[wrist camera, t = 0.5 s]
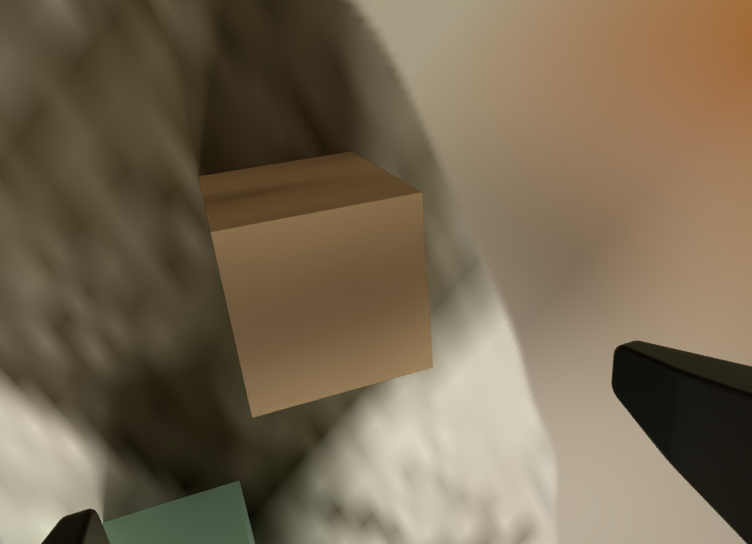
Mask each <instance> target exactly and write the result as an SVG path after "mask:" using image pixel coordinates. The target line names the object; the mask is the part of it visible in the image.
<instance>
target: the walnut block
mask: <svg viewBox="0 0 752 544" xmlns="http://www.w3.org/2000/svg"><path fill="white" fill-rule="evenodd" d="M198 177H199V182H200V186H201V191H202V196H203V200H204V205H205V209H206V214H207V218H208V223H209V227H210V232H211V236H212V241H213V245H214V250H215V254H216V259H217V263H218V267H219V272H220V276H221V281H222V285H223V290H224V294H225V299H226V303H227V308H228V312H229V316H230V321H231V325H232V330H233V334H234V339H235V343H236V348H237V352H238V357H239V361H240V365H241V370H242V374H243V379H244V383H245V388H246V392H247V397H248V401H249V406H250V410H251V414H252V418H253V417H257V416H260V415H264V414H268V413H271V412H275V411H278V410H282V409H285V408H289V407H293V406H296V405H300V404H303V403H307V402H310V401H314V400H318V399H321V398H325V397H328V396H332V395H336V394H339V393H343V392H346V391H350V390H353V389H357V388H361V387H364V386H368V385H371V384H375V383H379V382H382V381H386V380H389V379H393V378H396V377H400V376H404V375H407V374H411V373H414V372H418V371H421V370H425V369H429V368H432V367H433V361H432V344H431V328H430V311H429V295H428V279H427V262H426V246H425V230H424V213H423V197H422V192H421V191H419V190H417V189H416V188H414V187H412V186H410V185H409V184H407V183H405V182H404V181H402V180H400V179H398V178H397V177H395V176H393V175H391V174H390V173H388V172H386V171H385V170H383V169H381V168H379V167H378V166H376V165H374V164H372V163H371V162H369V161H367V160H366V159H364V158H362V157H360V156H359V155H357V154H355V153H353V152H345V153H339V154H333V155H327V156H321V157H315V158H308V159H302V160H296V161H290V162H284V163H278V164H271V165H265V166H259V167H253V168H247V169H241V170H234V171H228V172H222V173H216V174H210V175H203V176H198Z"/></svg>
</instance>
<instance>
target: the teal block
mask: <svg viewBox="0 0 752 544" xmlns="http://www.w3.org/2000/svg"><path fill="white" fill-rule="evenodd" d="M103 527H104V530H105V532H106V535H107V537H108V539H109V542H110V544H255V541H254V537H253V533H252V529H251V525H250V521H249V517H248V513H247V509H246V505H245V501H244V497H243V493H242V489H241V485H240V481H236V482H233V483H229V484H226V485H223V486H220V487H216V488H213V489H210V490H207V491H203V492H200V493H197V494H193V495H190V496H187V497H184V498H180V499H177V500H174V501H171V502H167V503H164V504H161V505H158V506H154V507H151V508H148V509H145V510H141V511H138V512H135V513H131V514H128V515H125V516H122V517H118V518H115V519H112V520H109V521H105V522H103Z"/></svg>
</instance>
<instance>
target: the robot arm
mask: <svg viewBox="0 0 752 544" xmlns="http://www.w3.org/2000/svg"><path fill="white" fill-rule="evenodd" d="M612 388H613V391H614V393H615V395H616V397H617V398H618V399H619V401H620V402H621V403H622V404H623V406H624V407H625V408H626V409H627V411H628V412H629V413H630V414H631V416H632V417H633V418H634V419H635V421H636V422H637V423H638V424H639V426H640V427H641V428H642V429H643V430H644V432H645V433H646V434H647V436H648V437H649V438H650V439H651V441H652V442H653V443H654V444H655V446H656V447H657V448H658V449H659V451H660V452H661V453H662V454H663V455H664V457H665V458H666V459H667V460H668V461H669V462H670V464H671V465H672V466H673V467H674V468H675V469H676V470H677V471H678V472H679V473H680V474H681V475H682V476H683V477H684V479H685V480H686V481H687V482H688V483H689V484H690V485H691V486H692V487H693V488H694V489H695V490H696V491H697V492H698V493H699V494H700V495H701V496H702V497H703V498H704V499H705V500H706V501H707V502H708V503H709V505H711V507H713V509H714V510H715V511H716V512H717V513H718V514H719V515H720V516H721V517H722V518H723V519H724V520H725V521H726V522H727V523H728V524H729V525H730V526H731V528H732V529H733V530H734V531H735V532H736V533H737V534H738V535H739V536H740V537H741V538H742V539H743V540H744V541H745V542H746V543H747V544H752V366H747V365H743V364H739V363H734V362H730V361H726V360H721V359H717V358H712V357H708V356H704V355H699V354H695V353H691V352H686V351H682V350H677V349H673V348H669V347H664V346H659V345H655V344H651V343H647V342H642V341H632V342H629V343H625V344H623V345H619V346H618V347H617V348H616V349H615V351H614V356H613V369H612ZM41 544H110V542H109V539H108V537H107V535H106V532H105V530H104V527H103V525H102V522H101V520H100V518H99V515H98V513H97V512H96V511H95V510H93V509H86V510H83V511H80V512H77V513H73V514H70V515H67V516H65V517H63V518H62V519H61V520H60V521H59V522H58V523H57V524H56V526H55V527H54V528H53V529H52V531H51V532H50V533H49V535H48V536H47V537H46V538H45V540H44V541H43V542H42V543H41Z"/></svg>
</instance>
